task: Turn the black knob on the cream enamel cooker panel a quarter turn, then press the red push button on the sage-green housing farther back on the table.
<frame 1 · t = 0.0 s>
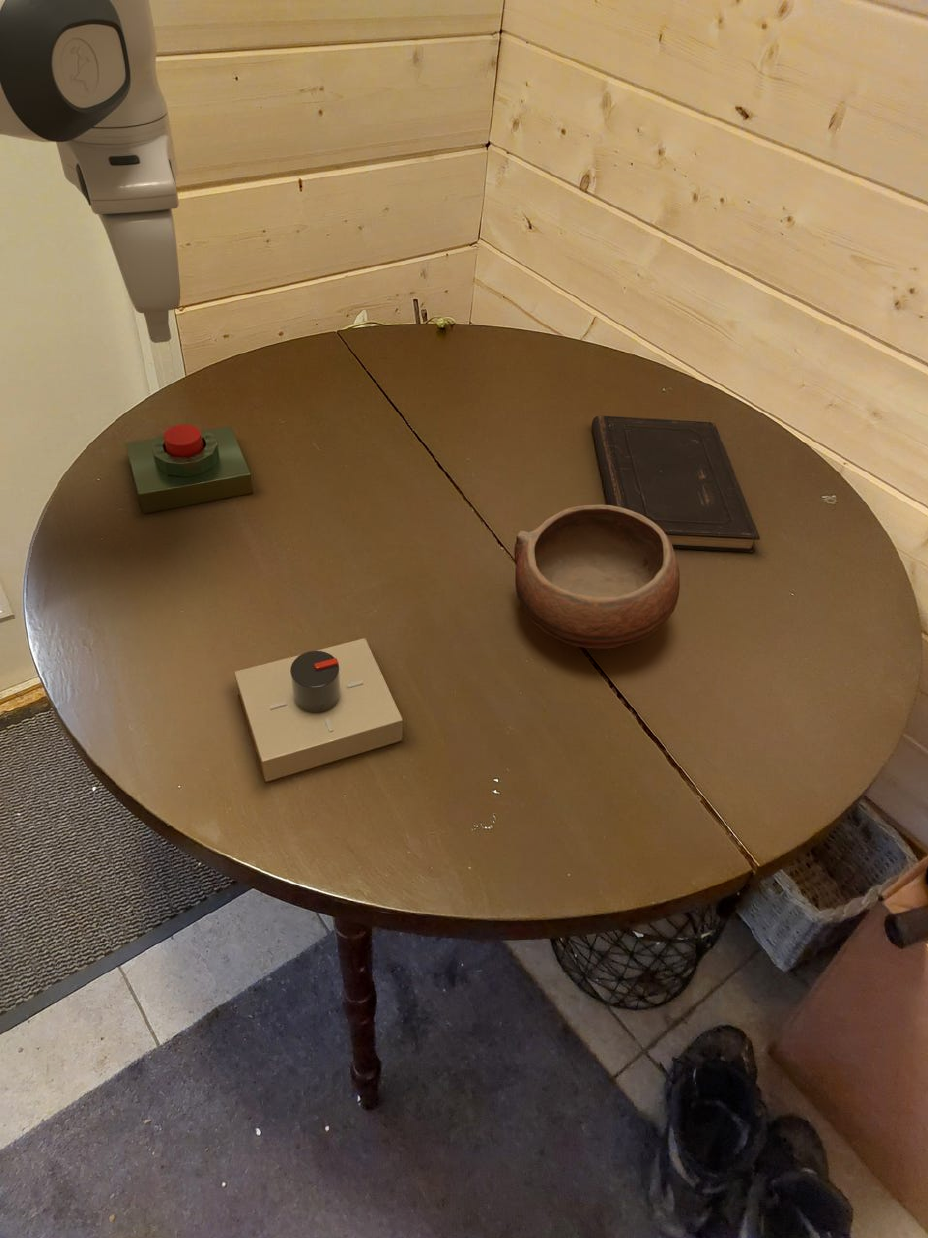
hand: (151, 314, 77), 22 cm above the table, tool pointing down, fingers open, 8 cm apart
red push button: (183, 440, 92), point 5 cm above the table, slide at 0.1 cm
hob knob: (315, 680, 70), point 5 cm above the table, hinge at 0.0°
button box: (191, 477, 95), on the table
old dark book: (665, 488, 101), on the table
bowl: (586, 616, 84), on the table
hob panel: (319, 716, 73), on the table
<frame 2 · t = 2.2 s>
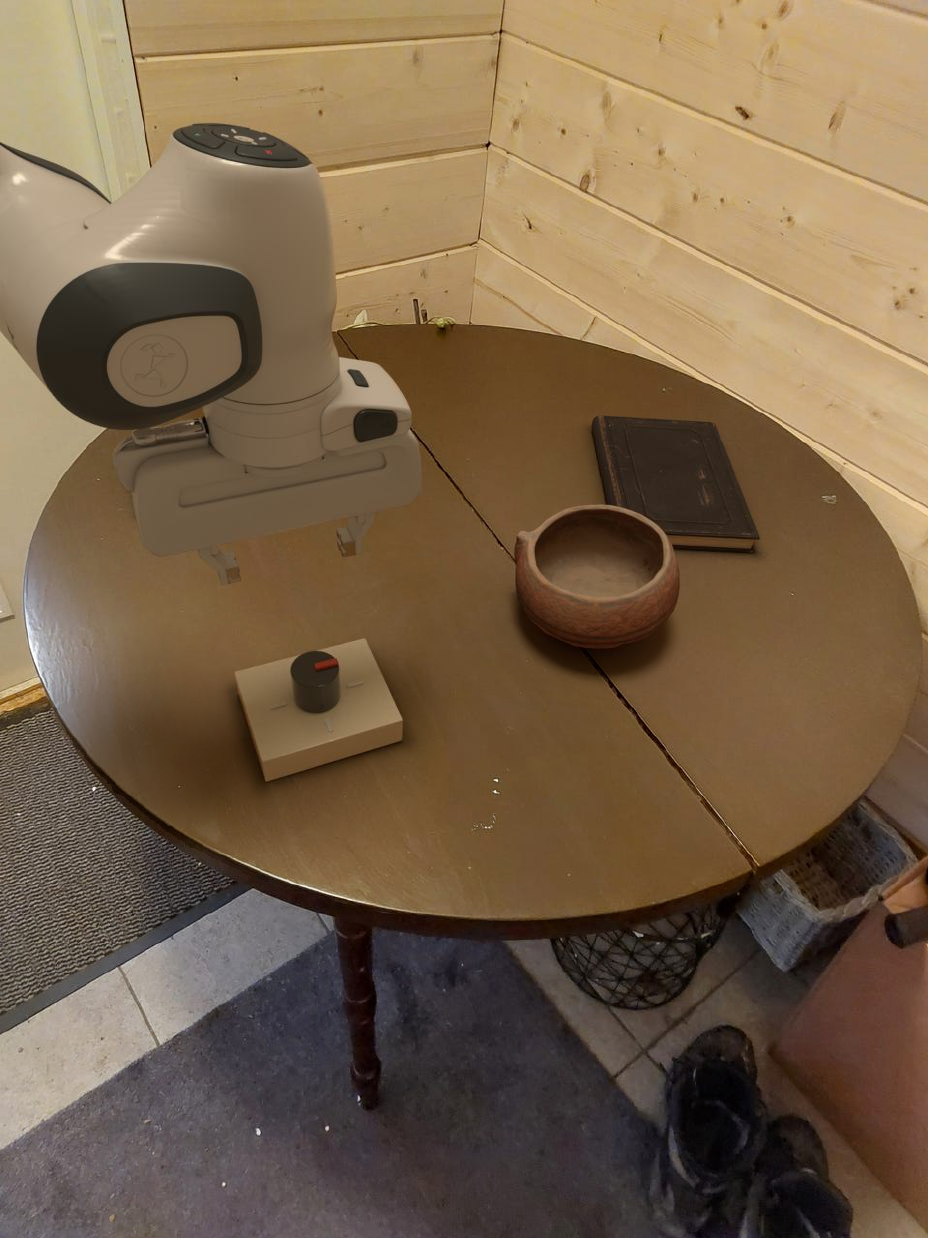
hand: (290, 564, 64), 16 cm above the table, tool pointing down, fingers open, 8 cm apart
nothing on the table moved.
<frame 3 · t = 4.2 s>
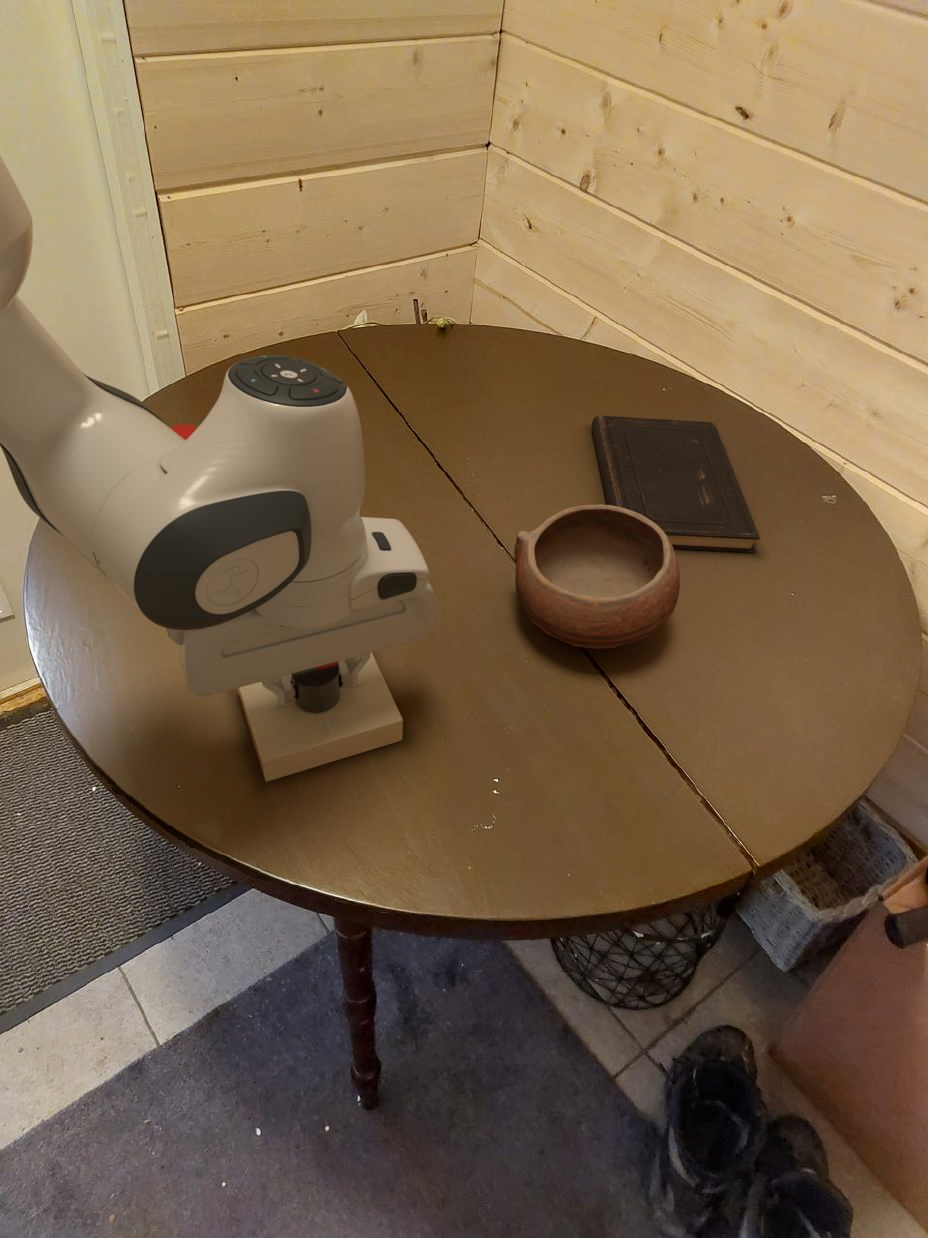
hand: (317, 689, 70), 4 cm above the table, tool pointing down, fingers closed on hob knob, 4 cm apart
hob knob: (315, 680, 70), point 5 cm above the table, hinge at 0.2°, touching gripper
everything else where it was.
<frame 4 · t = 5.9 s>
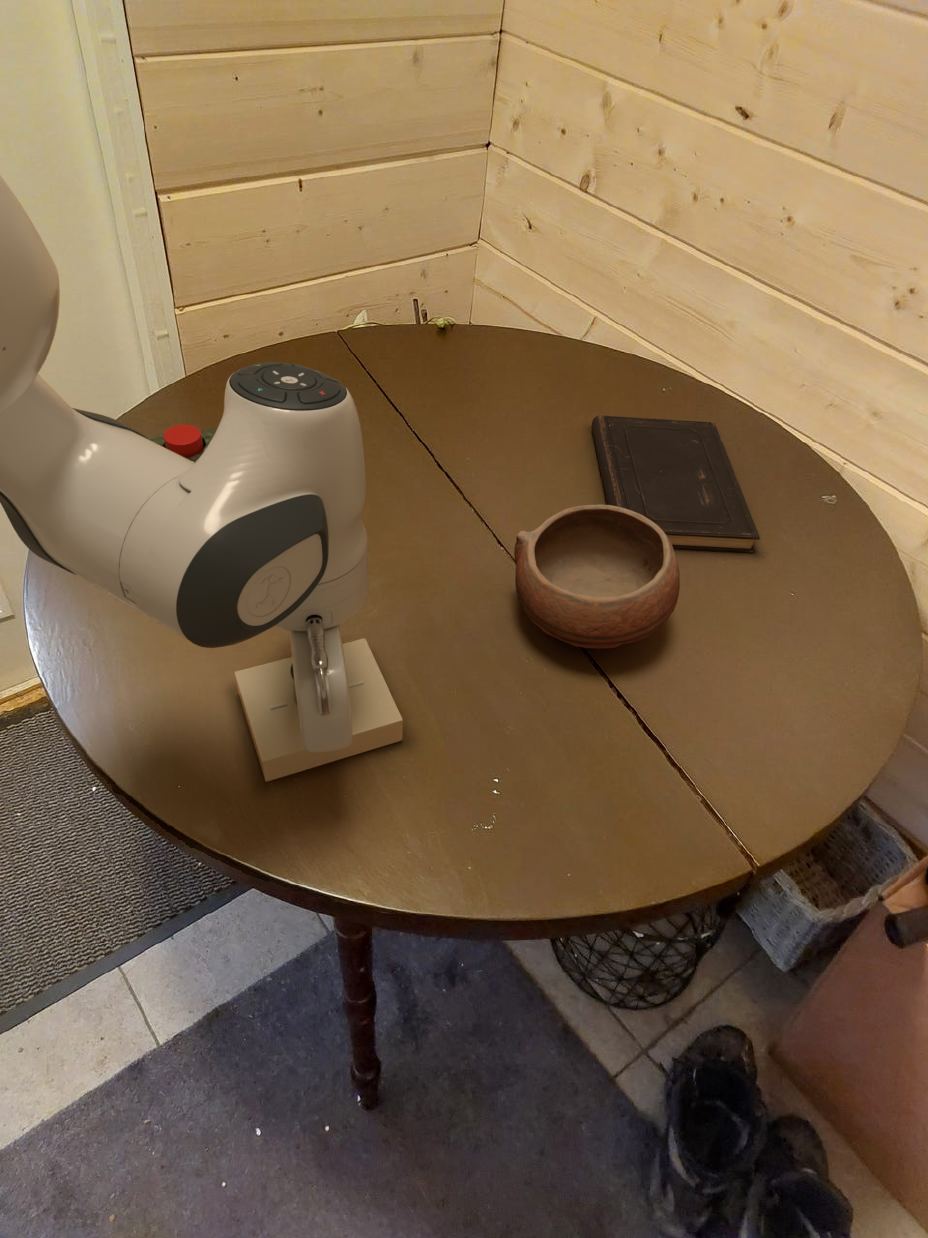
hand: (319, 691, 71), 3 cm above the table, tool pointing down, fingers closed on hob knob, 4 cm apart
hob knob: (315, 680, 70), point 5 cm above the table, hinge at 80.9°, touching gripper
everything else where it was.
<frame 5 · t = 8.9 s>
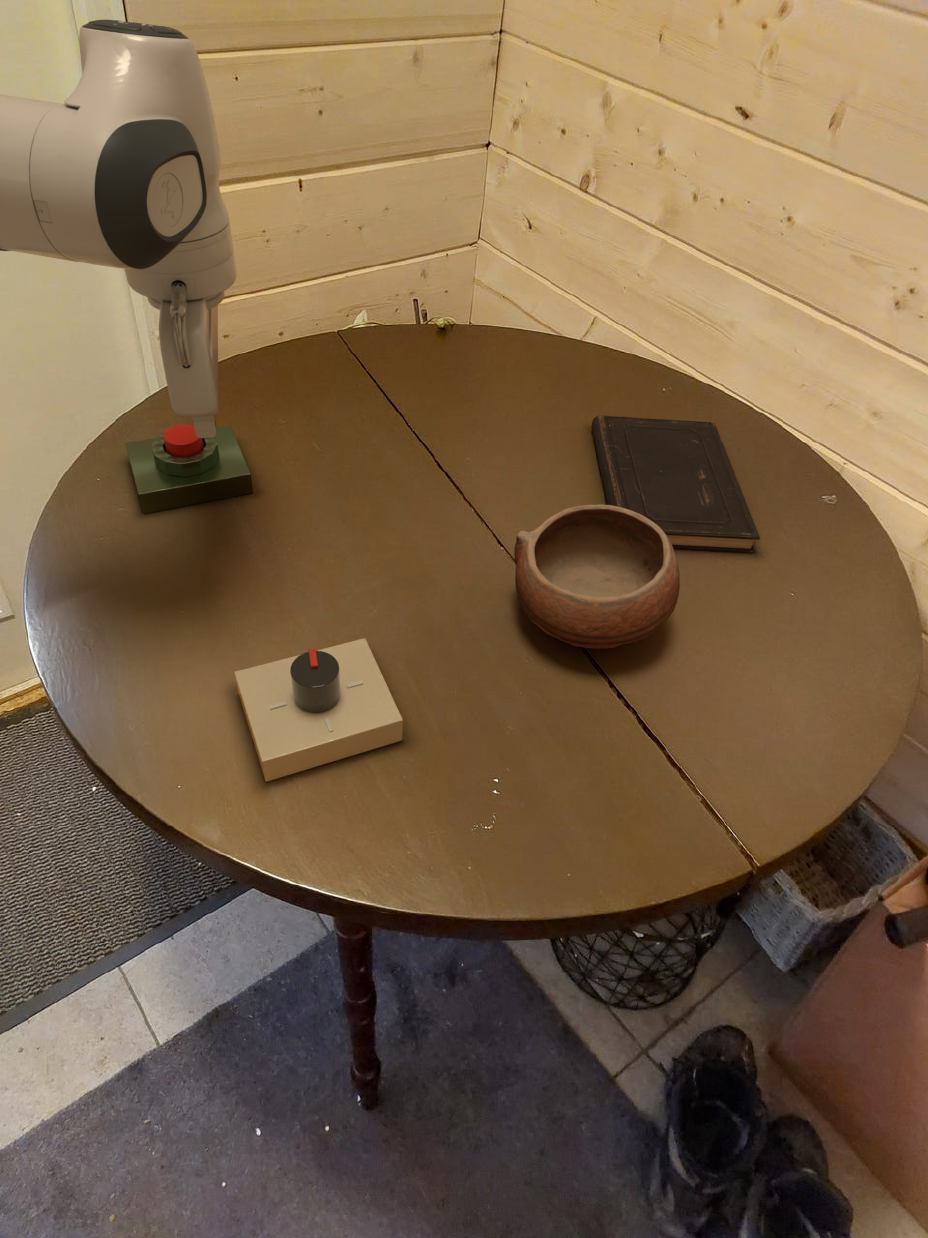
hand: (207, 405, 78), 16 cm above the table, tool pointing down, fingers open, 8 cm apart
hob knob: (315, 680, 70), point 5 cm above the table, hinge at 80.4°
everything else where it was.
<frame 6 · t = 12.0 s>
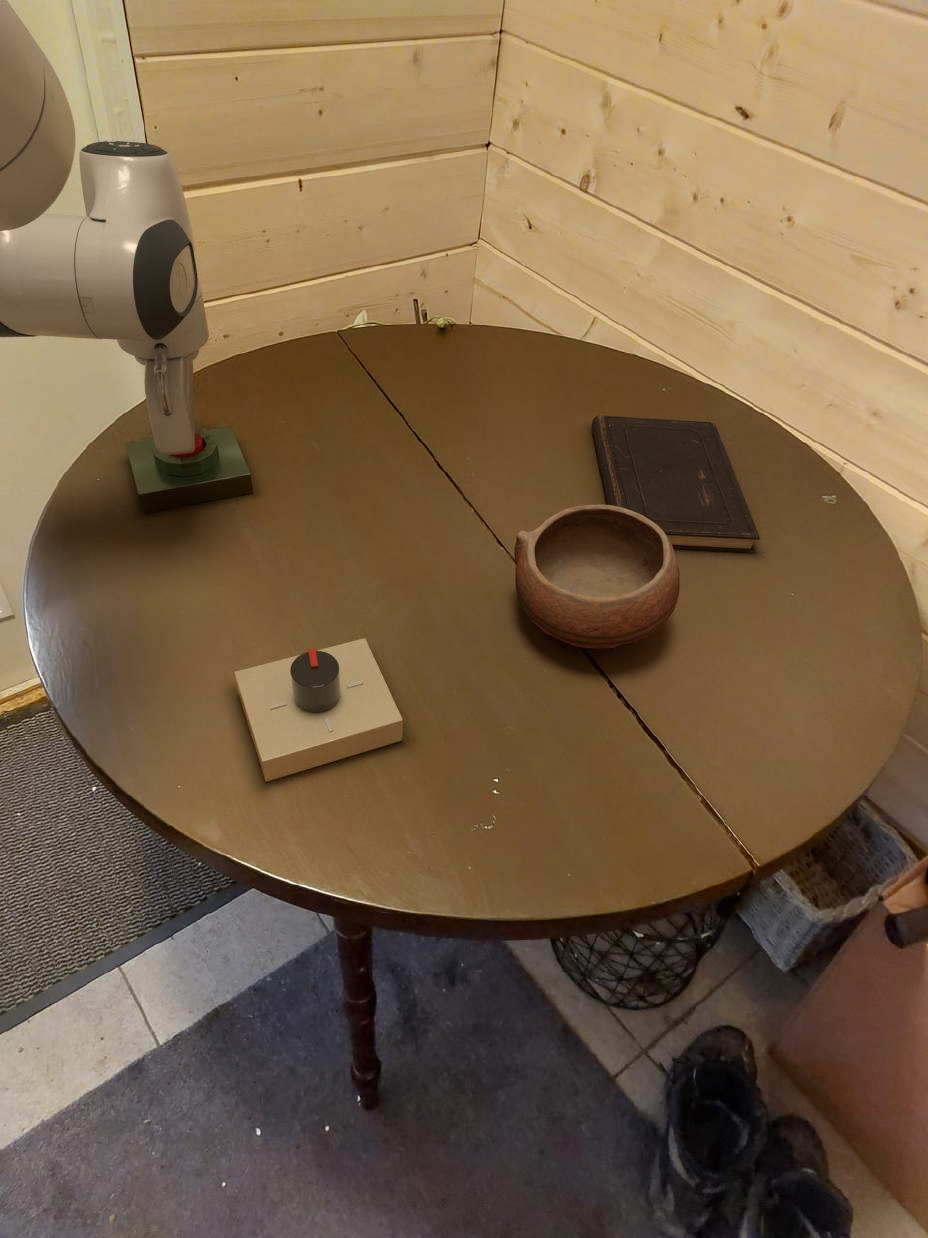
hand: (184, 440, 92), 5 cm above the table, tool pointing down, fingers closed, pressing on red push button
red push button: (184, 447, 92), point 4 cm above the table, slide at -0.7 cm, touching gripper
everything else where it was.
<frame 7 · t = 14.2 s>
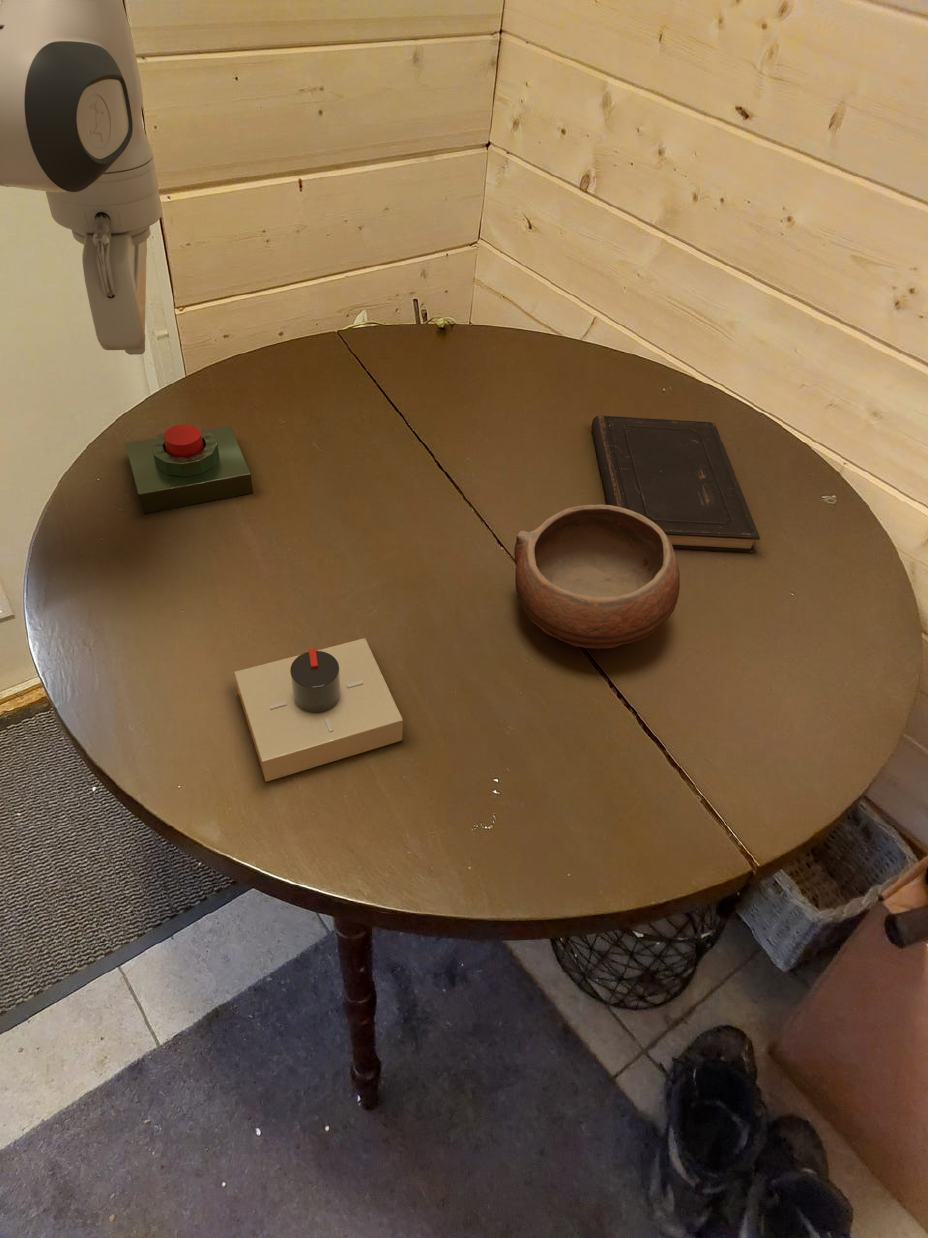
hand: (136, 347, 79), 18 cm above the table, tool pointing down, fingers closed
red push button: (183, 440, 92), point 5 cm above the table, slide at 0.1 cm
everything else where it was.
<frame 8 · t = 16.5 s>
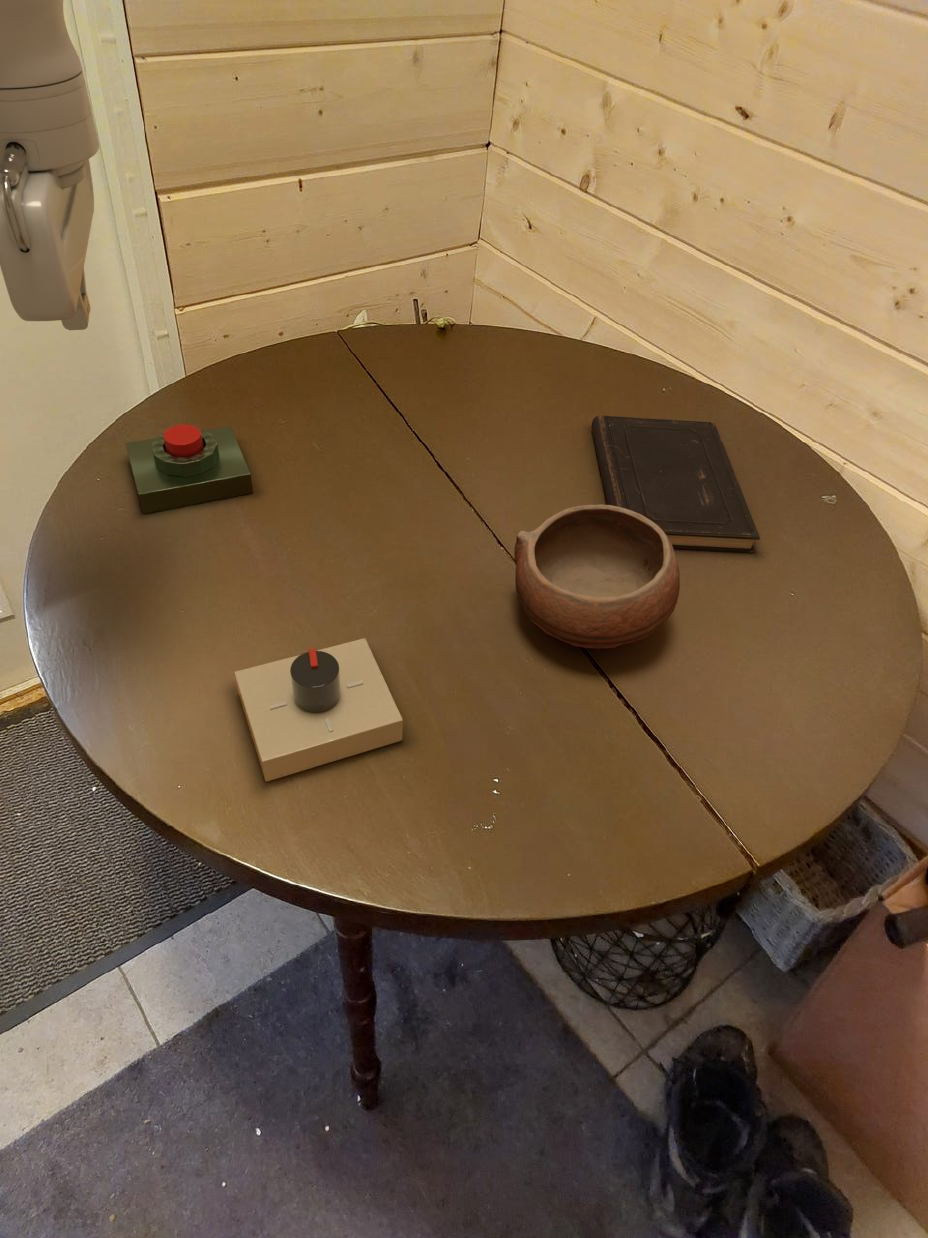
hand: (78, 321, 64), 27 cm above the table, tool pointing down, fingers closed
nothing on the table moved.
at the end: hob knob at +80° (first picture: +0°); red push button pushed in 1.1 cm at the most during the clip, back to where it started at the end; red push button slide at 0.1 cm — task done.
